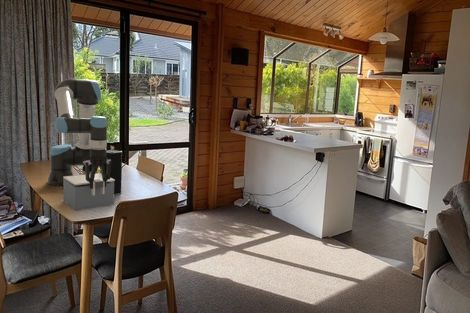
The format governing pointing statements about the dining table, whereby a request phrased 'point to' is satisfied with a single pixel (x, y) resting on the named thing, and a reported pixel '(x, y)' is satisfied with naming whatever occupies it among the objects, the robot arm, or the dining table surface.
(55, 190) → the dining table surface
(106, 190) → the carton
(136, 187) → the dining table surface
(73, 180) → the lid
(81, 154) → the robot arm
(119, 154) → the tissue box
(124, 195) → the dining table surface
